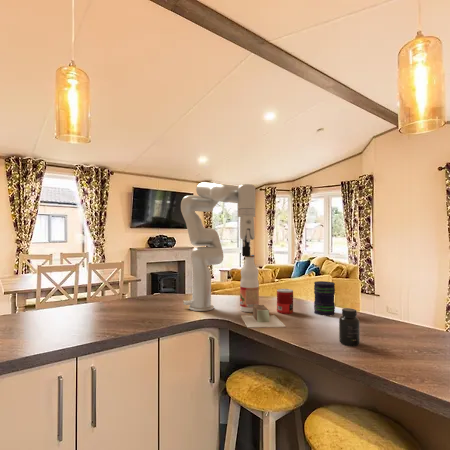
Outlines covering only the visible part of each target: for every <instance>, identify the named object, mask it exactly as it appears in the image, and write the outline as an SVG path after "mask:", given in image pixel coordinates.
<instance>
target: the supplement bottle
mask: <svg viewBox="0 0 450 450" xmlns="http://www.w3.org/2000/svg"><path fill="white" fill-rule="evenodd" d="M357 312H358V311H357V310H356V309H355V308H352V307H351V308H349V307H345V308H342V309H341V316H340V317H339V319H338V323H339V324H338V325H339V327H338V330H339V331H338V333H339V334H338V336H339V337H338V339H339V343H340V344H341V345H343V346H347V347H359V345H360V343H361V342H360V341H361V340H360V339H361V335H360V334H361V331H360V329H361V328H360V327H361V325H360V323H361V322H360V319H359V317H357V316H358V314H357Z"/></svg>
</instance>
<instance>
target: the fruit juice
mask: <svg viewBox="0 0 450 450" xmlns="http://www.w3.org/2000/svg"><path fill="white" fill-rule="evenodd" d="M244 259H245V260H244V265H243V266H242V268H241V270H240V276H241V278H240V285H239V287H240V288H239V289H240V290H239V293H240V294H239V296H240V297H239V309H240V311H241V312H244V313H253V305H260V303H259V302H260V301H259V300H260V297H259V296H260V293H259V291H260V290H259V289H260V285H259V280H258V279H259V278H258V277H259V269H258V267H257V266H256V263H255V254H250V256H244Z"/></svg>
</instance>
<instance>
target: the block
mask: <svg viewBox="0 0 450 450" xmlns="http://www.w3.org/2000/svg"><path fill="white" fill-rule="evenodd" d="M269 315H270V309H268V308H267V306H265V305H264V304H259V305H253V312H252V316H253V317H254V318H255V319H256V321H257V322H269Z"/></svg>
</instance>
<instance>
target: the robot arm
mask: <svg viewBox="0 0 450 450" xmlns="http://www.w3.org/2000/svg"><path fill="white" fill-rule="evenodd" d="M195 190H196V194H191V195H185V196H184V197H183V198H182V200H181V202H180V211H181V214H182V217H183V219H184V222H185V225H186V229H187V234H188V237H189V241H190V244H191V245H193V246H195V247H194V248H193V249H192V250H191V252H190V260H191V265H192V266H191V267H192V286H191V287H192V294H191V295H192V297H191V299H190V300H183V305H185V306H188V308H189V310H191V311H194V312H207V311H212V310H214V309H215V307H214V305H213V304H212V272H211V270H210V268H209V266H211V265H212V266H215V265H220V264H222V262H223V260H224V251H223V247H222V244H221V240H220V236H219V235H220V234H219V233H218V231H216V229H214V228H206V227H204V225H203V221H202V219H201V217H200V216H199V214H198V213H196V212H203V213H204V212H205V213H207V212H208V213H209V212H211V211H212V210H213V209H214V208H215V207H216V206H217V205H218V204H219V202H220V203H221V202H222V203H230V204H231V203H233V204H237V217H239V220H240V221H239V237H240V240H242V247H241V250H242V251H241V256H242V257H245V256H250V255H251V241H252V240H255V219H254V218H255V217H256V186H255V185H253V184H249V183H247V184H246V183H245V184H240V185H239V186H238V185H237V186H236V185H230V184H222V183H220V182H211V181H202V182H200V183H198V185H197V186H196V189H195Z"/></svg>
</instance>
